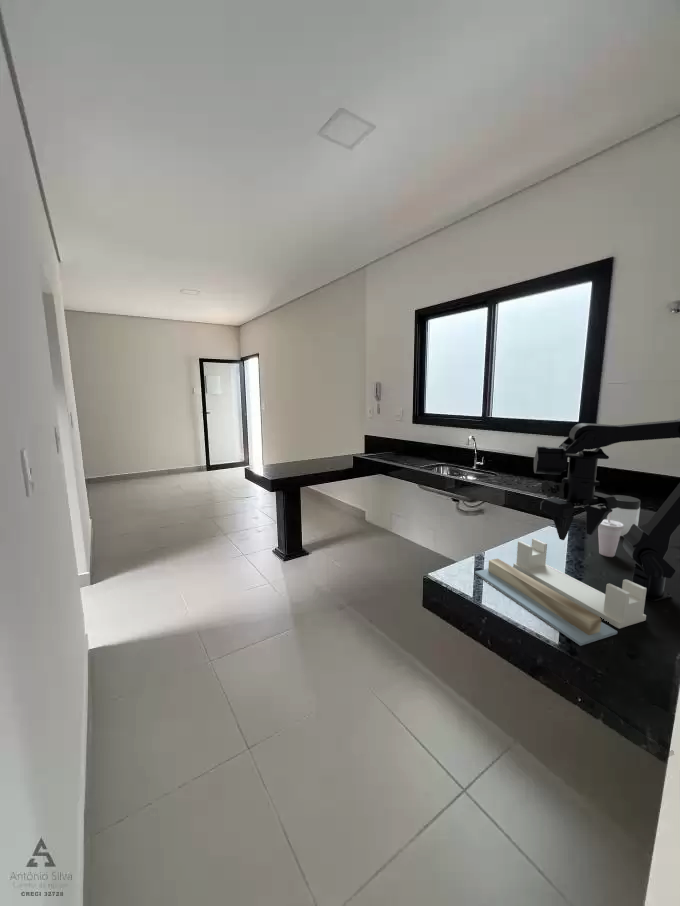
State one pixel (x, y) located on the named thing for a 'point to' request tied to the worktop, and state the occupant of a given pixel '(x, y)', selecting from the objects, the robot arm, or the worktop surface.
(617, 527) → the smoothie
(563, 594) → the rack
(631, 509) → the jar
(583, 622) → the rail
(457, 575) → the worktop surface
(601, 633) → the mat
